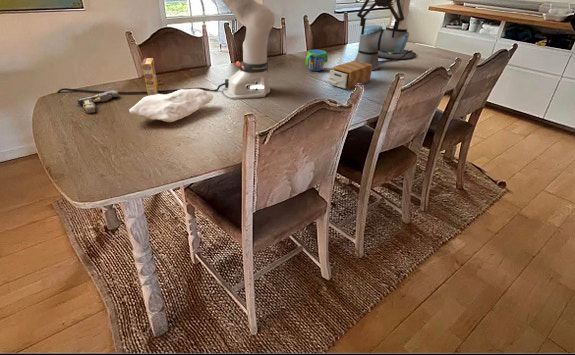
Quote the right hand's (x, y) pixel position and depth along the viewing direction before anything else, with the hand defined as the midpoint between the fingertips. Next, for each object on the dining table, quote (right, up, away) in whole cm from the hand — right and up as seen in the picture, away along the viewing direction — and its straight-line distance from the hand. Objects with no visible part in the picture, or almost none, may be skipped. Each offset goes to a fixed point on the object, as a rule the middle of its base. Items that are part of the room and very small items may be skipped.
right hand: (377, 35), depth 164 cm
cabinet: (-7, -14, +28) cm, 32 cm away
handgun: (-120, -33, -8) cm, 125 cm away
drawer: (-12, -16, +24) cm, 31 cm away
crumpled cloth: (-88, -38, -14) cm, 97 cm away
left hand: (-27, +23, 0) cm, 35 cm away
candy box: (-102, -26, +3) cm, 106 cm away
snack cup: (-24, -2, +46) cm, 52 cm away
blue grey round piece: (+30, +21, +86) cm, 93 cm away
